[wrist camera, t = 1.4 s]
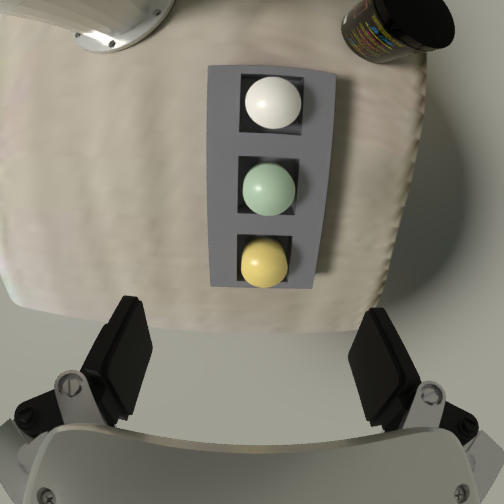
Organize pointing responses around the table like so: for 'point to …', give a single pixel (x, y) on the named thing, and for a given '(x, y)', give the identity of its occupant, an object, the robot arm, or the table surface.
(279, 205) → the green button
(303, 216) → the button panel
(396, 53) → the supplement container
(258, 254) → the mustard button
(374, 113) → the table surface
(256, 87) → the white button
